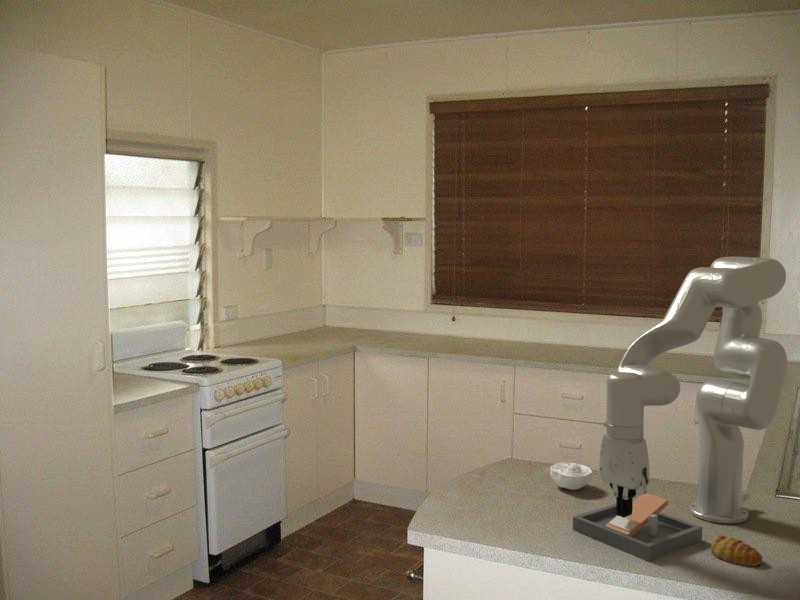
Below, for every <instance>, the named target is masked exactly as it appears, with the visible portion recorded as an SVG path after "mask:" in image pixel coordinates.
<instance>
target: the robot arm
mask: <svg viewBox="0 0 800 600" xmlns="http://www.w3.org/2000/svg"><path fill="white" fill-rule="evenodd" d="M786 280H787V273H786V269H785V267H784V264H782V263H781V261H779V260H777V259H775V258H770V257H754V256H753V257H750V256H723V257H718V258H716V259H715V260H713V262H712V263H711V264H710V266H706V267H705V266H703V267H696V268H693V269H692V270H690V271H689V272H688V273H687V275H685V278H684V279H683V281H682V283H681V285H680V287H679V289H678V291H677V293H676V294H675V296H674V298H673V300H672V302H671V303H670V305H669V308H668V309H667V311H666V314H665V315H664V317H663V319H662V320H661V321H660V322H659V323H657V324H656V325H654V326H653V327H651V328H650V329H648V330H647V331H646V332H644V333H643V334H642V335H641V336H639V337H638V338H636V340H635V341H633V343H632V344H630V346H629V347H628V348H627V350H626V351H625V353H624V355H623V357H622V359H621V360H620V363H619V365H618V367H617V370H616V372H612V373H610V374H609V375H608V376H607V379H606V420H604V422H603V427H605V428H606V433H604V434H603V437H602V439H601V443H600V444H601V445H600V450H599V461H598V462H599V463H598V475H599V478H600V479H601V480H602V481H603V482H604V484H606V485H608V486H610V488H611V489H612V492H613V496H614V497H615V500H616V501H615V504H616V514H617V516H621V517H623V518H624V517H627V516H629V515H632V510H633V502H634V498H635V497H636V496H637V495H640V496H641V495H643V494H646V493H648V489H647V485H649V482H650V460H649V451H648V446H647V441H646V439H644V435H645V433H644V431H645V430H644V427H645V425H644V423H645V422H644V421H645V419H644V418H645V414H644V413H645V410H644V409H645V407H647V406H649V407H650V406H654V407H659V406H660V407H661V406H667V405H669V404H672V403H673V402H675V401H676V400H677V398H679V397H678V396H679V395H680V392H681V383H680V381H679V379H678V377H677V376H675V375H674V374H673V373H672V372H670V371H668V370H667V371H666V370H663V369H660V368H659V369H658V368H655V367H650V364H651V363H652V362H654V361H655V359H656V358H657V357H659V356H660V355H662V354H664V353H666V352H667V351H671V350H674V349H677V348H680V347H683V346H687V345H690V344H692V343H695V342H697V341H698V340H699V339H700V338H701V336H702V334H703V332H704V330H705V328H706V327H707V324H708V322H709V320H710V318H711V316H712V314H713V312H714V311H715V310H716V308H717V307H720V308H721V307H722V317H721V322H720V325H719V326H720V327H719V330H718V335H717V339H716V343H715V348H714V353H713V366H714V368H715V369H716V370H717V371H718V372H721V373H723V374H726V375H730V376H735V377H740V378H744V379H748V380H750V382H749V384H747V383H742V382H738V381H731V380H727V379H720V378H719V379H718V378H715V379H709V380H707V381H705V382H703V383H702V384H701V385H700V386H699V388H698V389H697V392H696V396H695V399H696V400H695V403H696V410H697V415H698V422H699V424H698V425H699V442H698V443H699V445H698V446H699V447H698V467H697V468H698V472H697V497H696V499H697V500H696V501H693V502H692V503H691V504H690V505H689V512H690V513H691V514H692V515H693V516H695V517H697V518H698V519H702V520H704V521H708V522H712V523H718V524H729V525H730V524H740V523H743V522H746V521H747V520H748V519H749V512H748V511H747V509H745V507H742V506H743V503H744V502H746V501H748V500H750V498H751V495H750V493H749V492H747V491H744V492H743V473H744V471H743V469H744V452H745V449H744V448H745V444H744V442H745V441H744V436H743V433H742V430H741V428H744V429H750V430H753V431H763V430H765V429H767V428H768V427H770V426H771V425H772V423H773V422H774V420H775V417H776V416H777V412H778V408H779V405H780V400H781V396H782V392H783V387H784V383H785V379H786V376H787V375H786V374H787V370H788V356H787V352H786V350H785V347H784V346H783V345H782V343H780V342H778V341H777V340H774V339H772V338H770V339H769V338H765V337H764V338H763V337H760V333H761V328H762V323H763V311H762V309H761V306H760V304H759V303H760V302H762V301H765V300H767V299H771V298H773V297H775V296H776V295H777V294H779V293H780V292H781V291H782V289H783V288H784V286H785V284H786ZM740 427H741V428H740Z"/></svg>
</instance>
